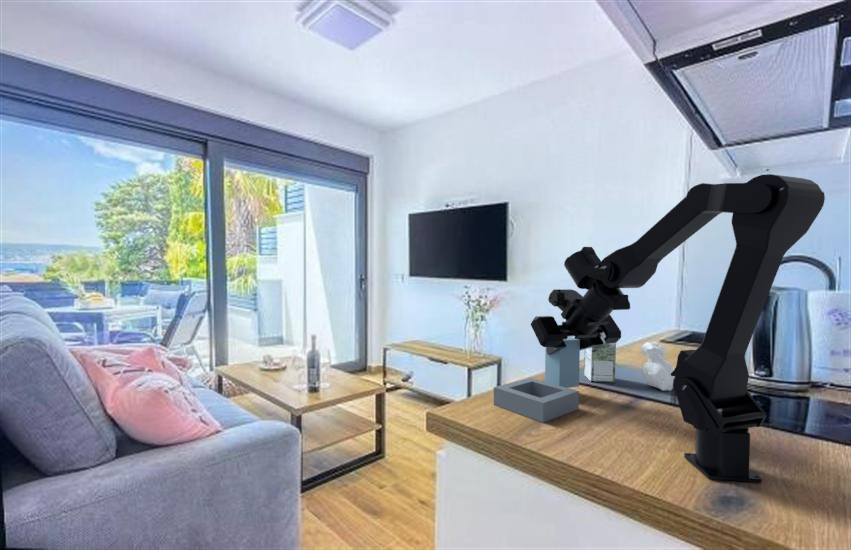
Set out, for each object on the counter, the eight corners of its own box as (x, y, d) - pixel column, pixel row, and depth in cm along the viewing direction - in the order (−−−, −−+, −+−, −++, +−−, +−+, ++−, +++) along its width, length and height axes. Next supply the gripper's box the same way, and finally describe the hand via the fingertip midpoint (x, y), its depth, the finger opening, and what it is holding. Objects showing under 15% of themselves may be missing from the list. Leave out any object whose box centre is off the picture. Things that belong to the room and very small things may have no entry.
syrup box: (607, 376, 102) (608, 319, 101) (615, 383, 96) (617, 322, 95) (583, 375, 102) (584, 318, 102) (590, 382, 96) (592, 322, 96)
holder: (578, 409, 78) (579, 391, 78) (542, 422, 71) (543, 403, 71) (529, 393, 87) (530, 377, 87) (493, 404, 80) (493, 387, 80)
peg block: (579, 386, 86) (579, 339, 85) (559, 388, 84) (560, 340, 84) (564, 380, 90) (564, 335, 90) (544, 382, 89) (545, 336, 89)
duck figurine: (662, 389, 99) (632, 349, 103) (692, 375, 95) (659, 334, 99) (652, 402, 89) (619, 357, 93) (684, 386, 85) (649, 340, 90)
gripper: (612, 276, 86) (576, 321, 97) (536, 276, 80) (507, 324, 91) (641, 318, 79) (599, 361, 89) (561, 321, 73) (526, 367, 83)
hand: (558, 352), depth 88 cm, fingers closed on peg block, 5 cm apart
